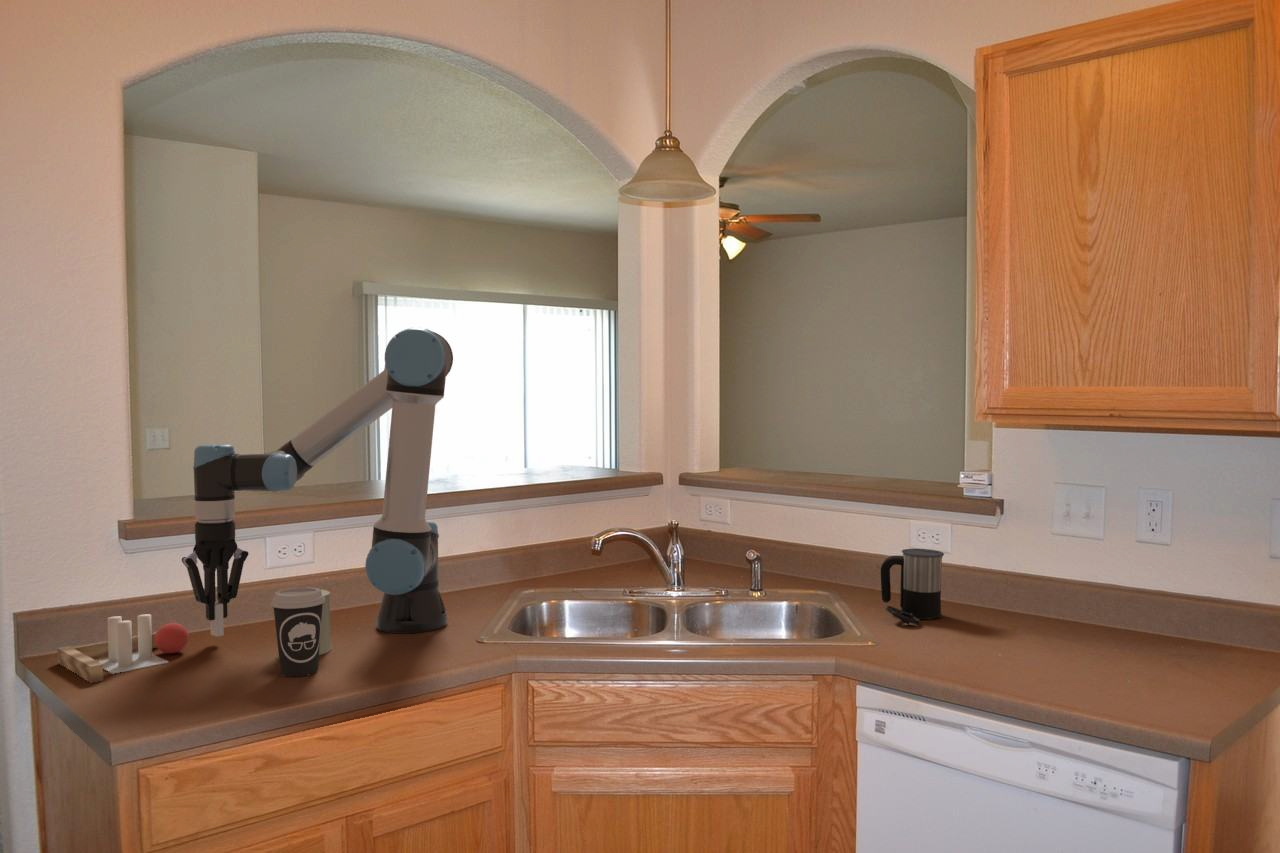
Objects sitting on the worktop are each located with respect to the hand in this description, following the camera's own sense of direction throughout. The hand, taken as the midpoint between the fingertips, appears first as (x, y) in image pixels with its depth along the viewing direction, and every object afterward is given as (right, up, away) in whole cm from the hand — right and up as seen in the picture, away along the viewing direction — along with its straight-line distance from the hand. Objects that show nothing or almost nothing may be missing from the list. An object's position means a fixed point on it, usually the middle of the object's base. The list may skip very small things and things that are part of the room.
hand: (217, 634), depth 198 cm
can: (+20, -2, -5) cm, 21 cm away
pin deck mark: (-11, -3, -13) cm, 17 cm away
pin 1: (-14, -3, -12) cm, 19 cm away
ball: (-6, +1, -6) cm, 9 cm away
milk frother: (+149, -1, +21) cm, 150 cm away
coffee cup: (+24, -3, -19) cm, 30 cm away
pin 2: (-11, -3, -15) cm, 19 cm away
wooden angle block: (-12, -3, -13) cm, 18 cm away
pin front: (-9, -3, -10) cm, 14 cm away
